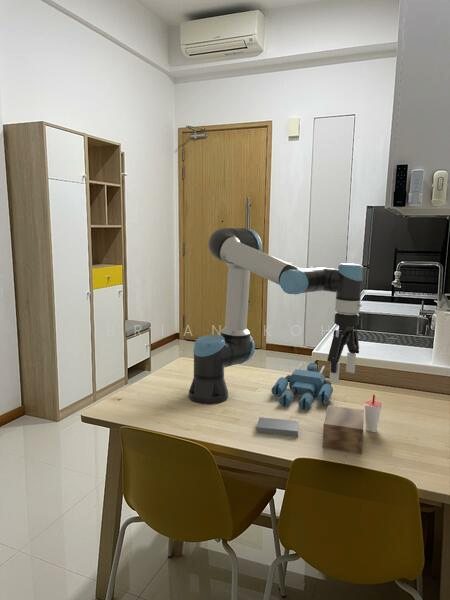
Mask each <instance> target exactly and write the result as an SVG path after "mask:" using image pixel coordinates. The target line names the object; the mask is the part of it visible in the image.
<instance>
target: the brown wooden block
mask: <svg viewBox="0 0 450 600" xmlns="http://www.w3.org/2000/svg"><path fill="white" fill-rule="evenodd" d="M326 409H327V410H326V414H325V417H324V421H323V430H322V431H323V432H322V449H329V450H335V451H341V452H346V453H347V452H348V453H354V454H360V455H362V454H363V453H362V452H363V440H364V439H363V438H364V422H365V409H358V408H351V407H345V406H344V407H343V406H336V405H328V406H327V408H326Z"/></svg>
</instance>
